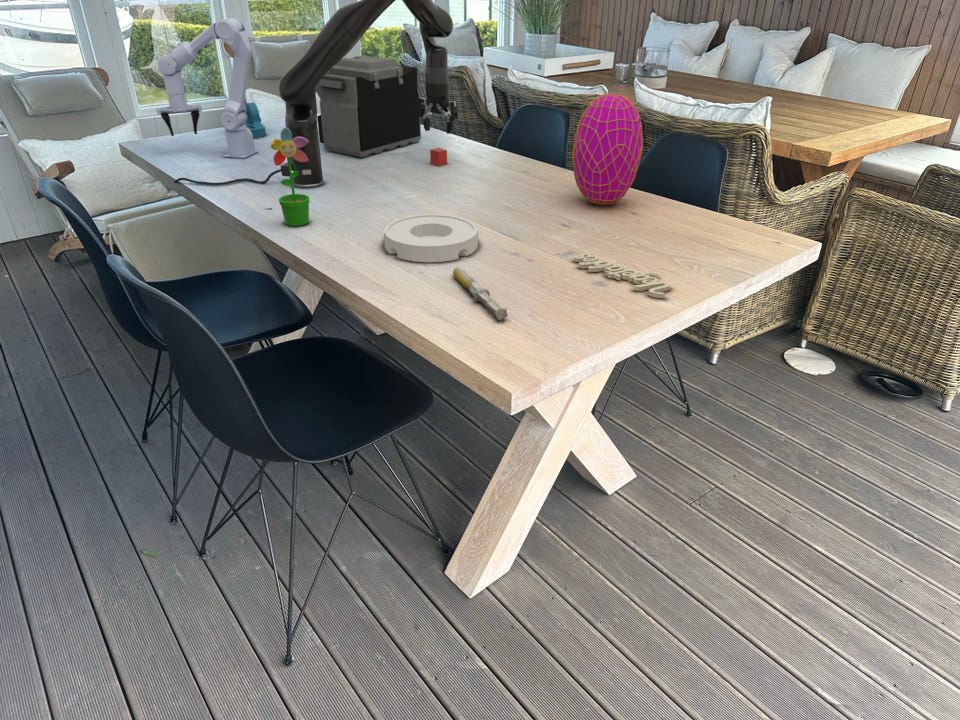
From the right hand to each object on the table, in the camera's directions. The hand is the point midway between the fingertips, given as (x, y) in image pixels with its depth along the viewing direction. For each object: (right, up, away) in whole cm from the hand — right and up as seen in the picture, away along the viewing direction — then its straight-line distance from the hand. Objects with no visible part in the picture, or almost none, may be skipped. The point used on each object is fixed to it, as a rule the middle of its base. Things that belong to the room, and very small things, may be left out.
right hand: (438, 131), depth 232 cm
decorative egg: (+50, -31, -31) cm, 66 cm away
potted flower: (-34, -40, -48) cm, 72 cm away
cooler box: (-27, +3, +26) cm, 38 cm away
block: (0, -9, +5) cm, 11 cm away
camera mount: (-78, +13, +42) cm, 89 cm away
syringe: (+14, -64, -87) cm, 109 cm away
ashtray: (+2, -49, -61) cm, 78 cm away
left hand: (-90, +2, +10) cm, 91 cm away
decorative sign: (+47, -58, -76) cm, 107 cm away
